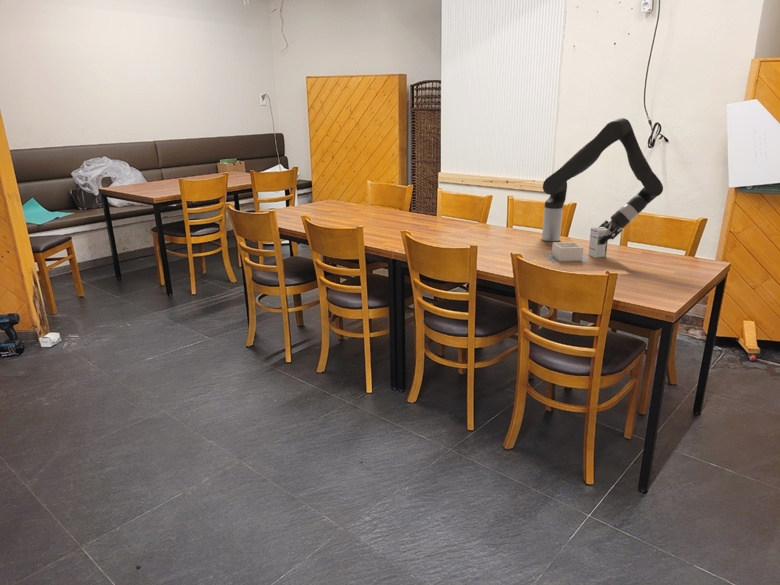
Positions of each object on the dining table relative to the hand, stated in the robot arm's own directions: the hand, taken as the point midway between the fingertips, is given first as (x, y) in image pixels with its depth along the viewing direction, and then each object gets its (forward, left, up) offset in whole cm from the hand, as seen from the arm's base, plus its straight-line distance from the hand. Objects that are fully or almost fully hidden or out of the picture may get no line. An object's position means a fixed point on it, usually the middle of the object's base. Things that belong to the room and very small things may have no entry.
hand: (596, 241), depth 252 cm
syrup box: (0, +1, -9) cm, 9 cm away
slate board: (+2, -14, -8) cm, 17 cm away
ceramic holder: (+2, -14, -7) cm, 16 cm away
